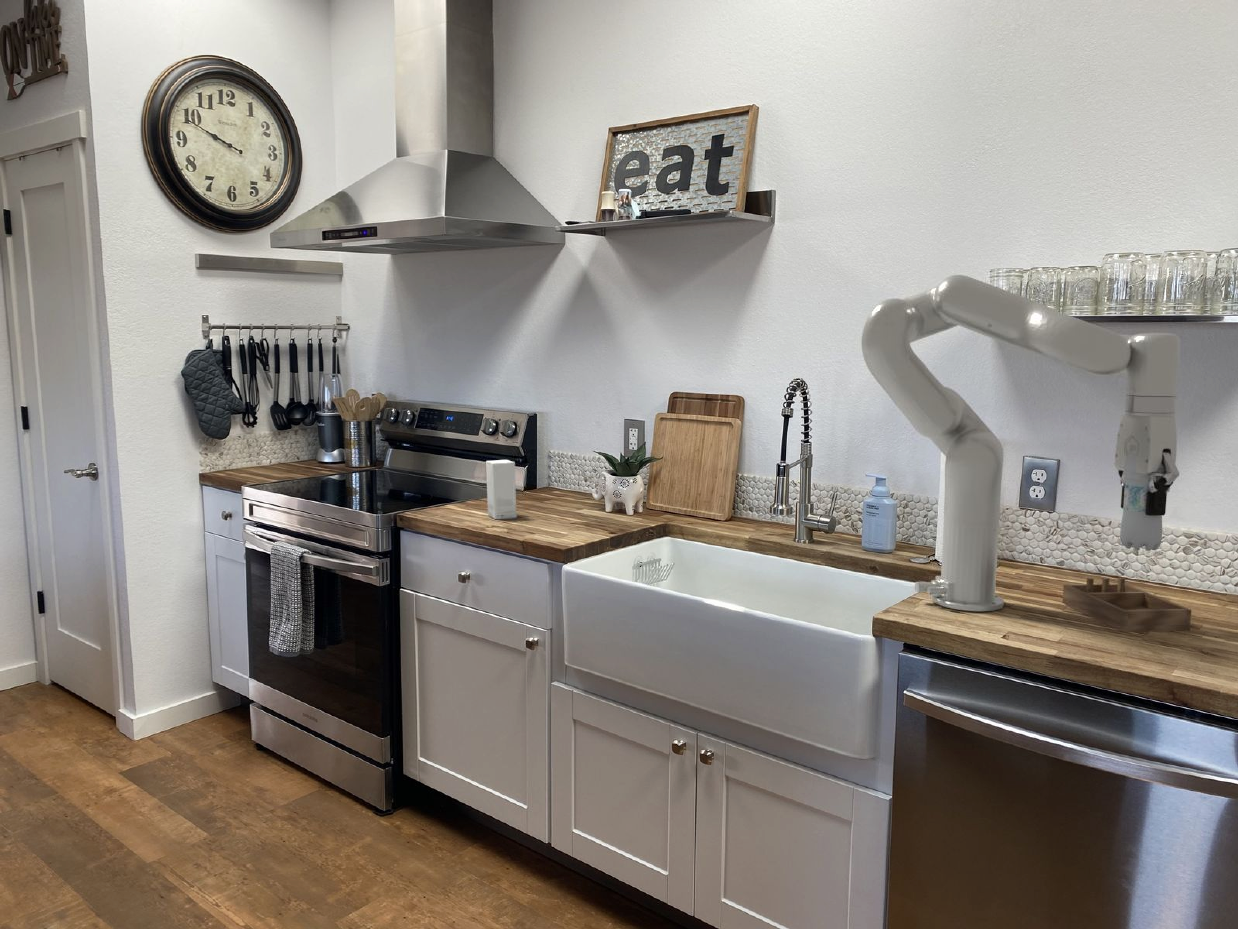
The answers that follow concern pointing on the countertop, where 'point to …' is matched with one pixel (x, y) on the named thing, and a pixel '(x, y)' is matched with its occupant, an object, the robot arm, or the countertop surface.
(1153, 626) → the tray
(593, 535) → the countertop surface
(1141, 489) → the bottle
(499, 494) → the skincare box
